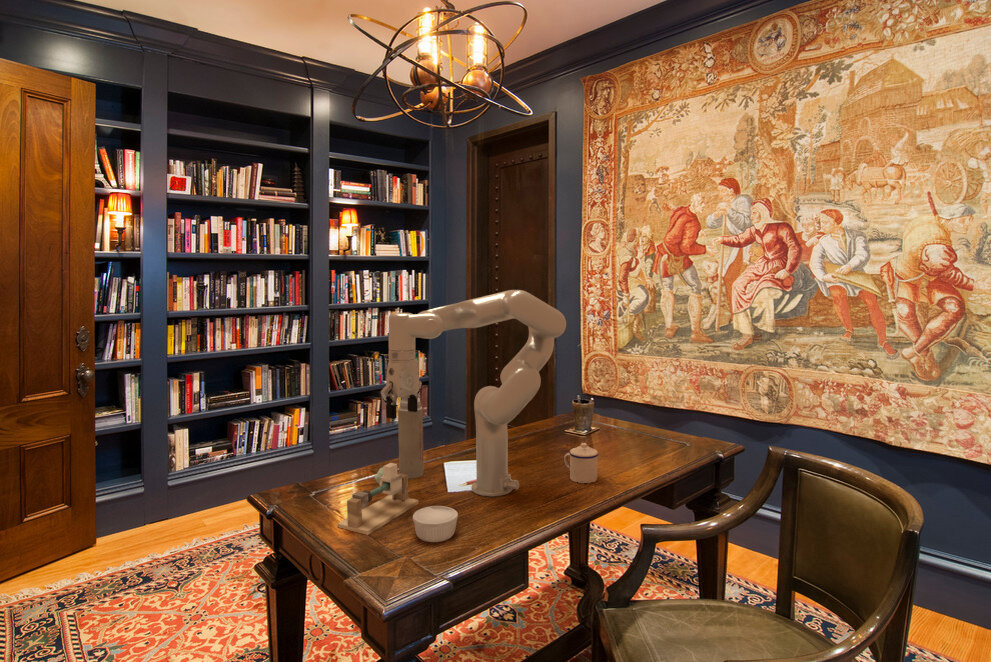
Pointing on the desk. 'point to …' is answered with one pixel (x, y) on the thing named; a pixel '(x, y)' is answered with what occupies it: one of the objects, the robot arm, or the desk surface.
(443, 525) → the ramekin
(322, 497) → the desk surface
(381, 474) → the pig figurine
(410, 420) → the thermos bottle
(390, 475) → the marker sleeve
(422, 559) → the desk surface
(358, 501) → the wooden toy assembly
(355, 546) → the desk surface
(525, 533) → the desk surface
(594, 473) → the teacup with lid
